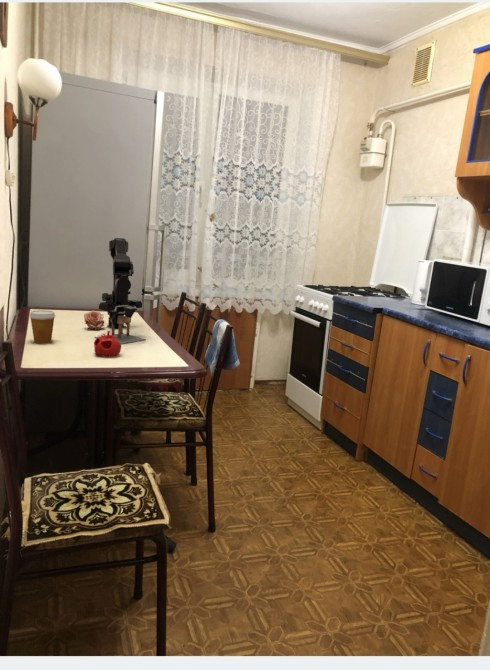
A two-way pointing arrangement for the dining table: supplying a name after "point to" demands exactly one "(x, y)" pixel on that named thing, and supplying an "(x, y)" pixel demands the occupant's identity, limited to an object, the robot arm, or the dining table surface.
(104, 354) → the pomegranate
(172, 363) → the dining table surface
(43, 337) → the disposable coffee cup
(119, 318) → the stool
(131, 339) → the mat
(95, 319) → the flower
